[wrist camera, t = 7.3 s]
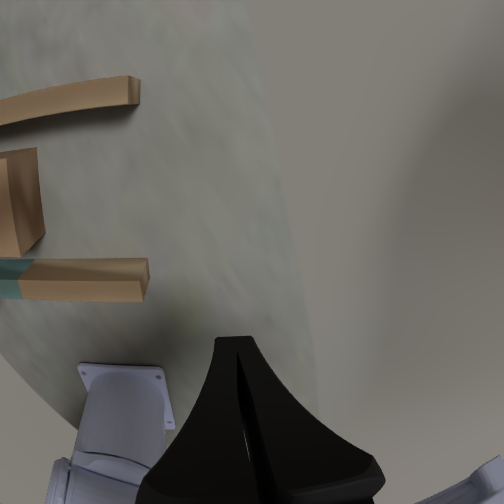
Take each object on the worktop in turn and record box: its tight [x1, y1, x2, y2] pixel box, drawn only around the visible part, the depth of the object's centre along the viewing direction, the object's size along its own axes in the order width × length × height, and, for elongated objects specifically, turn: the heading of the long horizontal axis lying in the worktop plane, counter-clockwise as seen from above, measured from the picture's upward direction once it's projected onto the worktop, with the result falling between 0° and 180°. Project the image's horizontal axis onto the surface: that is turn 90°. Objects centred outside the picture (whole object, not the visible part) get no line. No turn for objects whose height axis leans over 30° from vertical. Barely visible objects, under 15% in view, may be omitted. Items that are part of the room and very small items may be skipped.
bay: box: [0, 76, 150, 302], centre depth 14 cm, size 17×14×6 cm
